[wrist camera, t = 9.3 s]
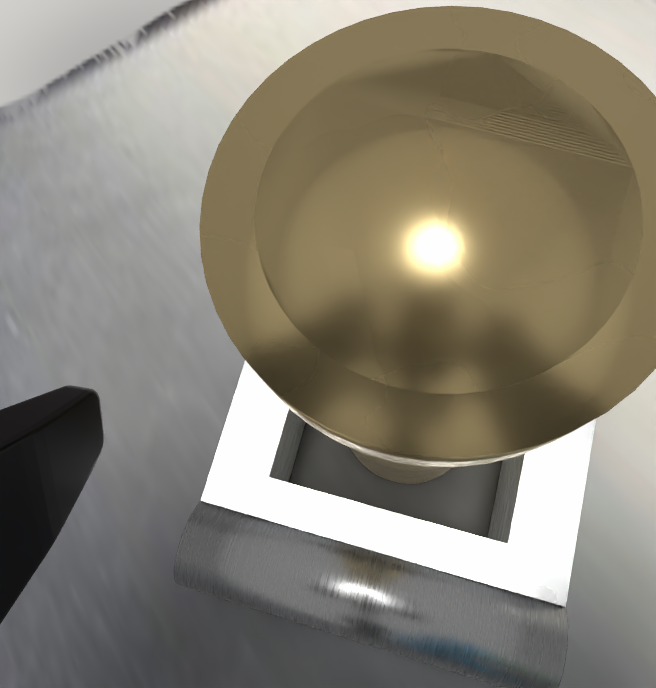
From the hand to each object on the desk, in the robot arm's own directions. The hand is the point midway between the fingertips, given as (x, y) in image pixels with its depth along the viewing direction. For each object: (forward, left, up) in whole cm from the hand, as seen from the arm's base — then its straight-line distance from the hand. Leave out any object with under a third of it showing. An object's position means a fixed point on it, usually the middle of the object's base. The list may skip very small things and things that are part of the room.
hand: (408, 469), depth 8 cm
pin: (+3, 0, -10) cm, 11 cm away
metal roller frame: (+3, 0, -10) cm, 11 cm away
